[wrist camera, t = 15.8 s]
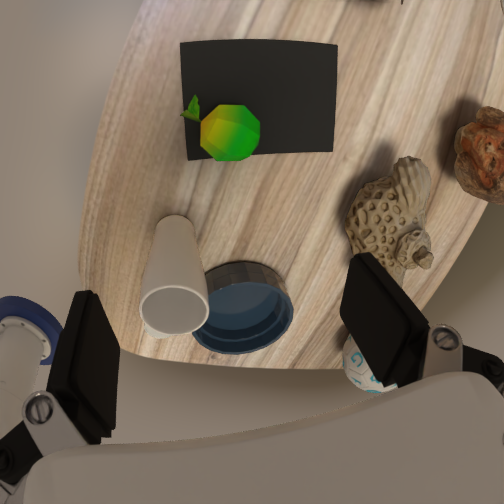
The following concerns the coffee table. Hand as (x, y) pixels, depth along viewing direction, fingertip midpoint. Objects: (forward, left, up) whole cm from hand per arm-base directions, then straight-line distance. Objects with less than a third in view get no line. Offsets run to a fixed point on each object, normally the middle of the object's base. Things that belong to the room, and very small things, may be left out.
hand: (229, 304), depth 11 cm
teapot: (+24, -12, -28) cm, 38 cm away
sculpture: (+42, 0, -28) cm, 50 cm away
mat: (+8, +4, -28) cm, 29 cm away
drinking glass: (-4, -12, -28) cm, 31 cm away
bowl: (+4, -26, -28) cm, 38 cm away
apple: (+2, +1, -27) cm, 27 cm away
